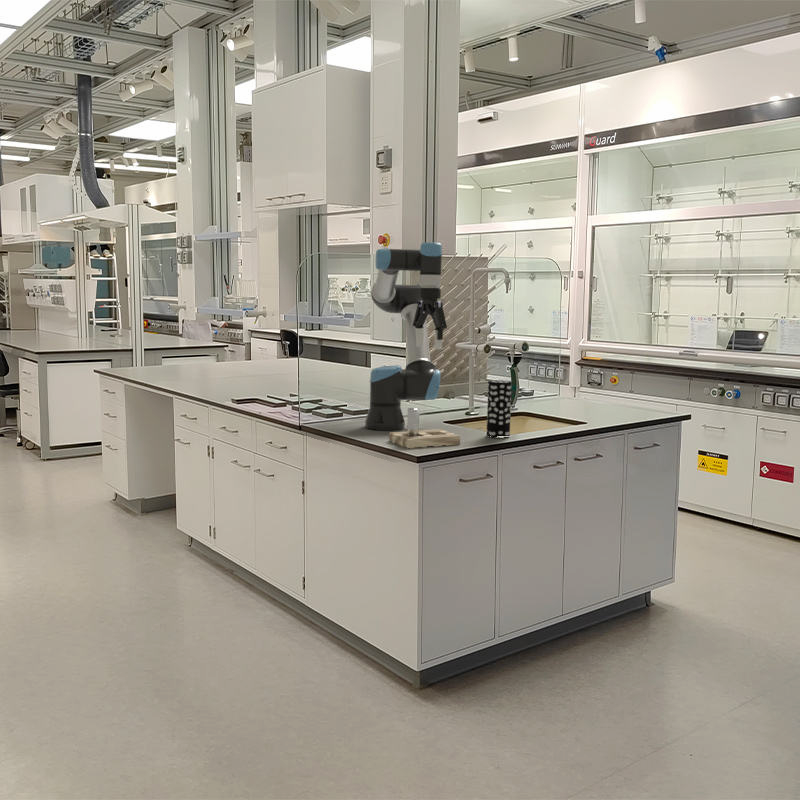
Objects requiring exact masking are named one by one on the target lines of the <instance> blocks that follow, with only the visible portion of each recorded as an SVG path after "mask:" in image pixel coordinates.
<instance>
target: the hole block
mask: <svg viewBox="0 0 800 800" xmlns="http://www.w3.org/2000/svg"><path fill="white" fill-rule="evenodd" d="M388 437H389V438H388V439H389V442H390V441H391V442H390V443H392V442H394V443H393V444H395V443H396V445H398V444H399V445H398V446H400V445H401V447H403V446H404V447H403V448H405V447H407V448H406V449H408V448H410V449H415V448H414V447H422V448H428V447H427V446H434V447H443V446H442V445H446V446H456V445H461V435H459V434H456V433H453V432H450V431H448V430H444V429H440V428H437V429H425V430H423V429H421V430H419V436H418V437H408V436H407V431H394V432H393V431H392V432H389V436H388Z"/></svg>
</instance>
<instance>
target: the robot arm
mask: <svg viewBox="0 0 800 800" xmlns="http://www.w3.org/2000/svg"><path fill="white" fill-rule="evenodd" d="M442 249H443V248H442V244H441V243H440V242H428V241H427V242H422V243H421V244H420V248H419V249H408V248H407V249H402V248H401V249H399V248H387V247H386V248H378V249H377V250H376V252H375V268H376V269H377V271H378V272H377V277H376V280H375V283H373V285H372V287H371V292H370V294H371V300H372V302H373V303H374V304H375V305H376V307H377V308H378V309H381V311H383V312H386V313H390V314H400V317H401V319H402V320H403V321H404V322H405V323H404V324H405V337H406V347H407V348H406V349H407V360H408V364H407V365H406V366H405V368H404V369H403V368H402V366H401V365H398V364H395V365H386V366H379V367H376V368H373V369H372V370H371V371H370V378H369V379H370V380H369V383H370V387H369V388H370V389H369V409H368V412H367V415H366V418H365V421H364V428H366V429H368V428H370V429H369V430H373V429H376V431H396V430H397V431H398V430H403V429H405V426H406V423H405V418H404V415H403V412H402V411H403V410H402V408H401V401H433V400H436V399H437V398H438V397H439V391H440V386H441V370H440V369H437V368H436V366H435V364H434V363H433V362H432V360H431V354H430V351H431V350H430V344H429V332H428V323H427V319H428V317H429V316H431V319H432V321H433V324H434V327H435V329H434V350H443V336H444V334H443V332H444V330H445V329H447V328H448V325H447V322H446V317H445V313H444V307H443V304H444V303H443V301H438V300H439V299H441V296H442V295H441V294H442V292H441V291H442V290H441V287H442V259H443V258H442V257H443V251H442ZM400 271H410V272H411V271H414V272H416V271H417V272H419V284H416V285H415V284H397V280H398V277H399V274H400V273H399V272H400Z"/></svg>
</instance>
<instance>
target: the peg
mask: <svg viewBox="0 0 800 800" xmlns="http://www.w3.org/2000/svg"><path fill="white" fill-rule="evenodd" d="M406 427H407V430H406V432H407V436H408V437H418V436H419V431H420V408H417V407H408V408H407V426H406Z"/></svg>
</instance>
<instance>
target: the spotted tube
mask: <svg viewBox="0 0 800 800" xmlns="http://www.w3.org/2000/svg"><path fill="white" fill-rule="evenodd" d="M512 385H513V384H512V381H511V380H503V379H502V380H500V379H496V380H494V379H493V380H488V383H487V386H488V387H487V408H486V409H487V412H486V437H487V436H489V437H488V438H490V436H491V437H497V436H510V435H511V410H512V408H511V406H512V405H511V404H512ZM510 437H511V436H510Z"/></svg>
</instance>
